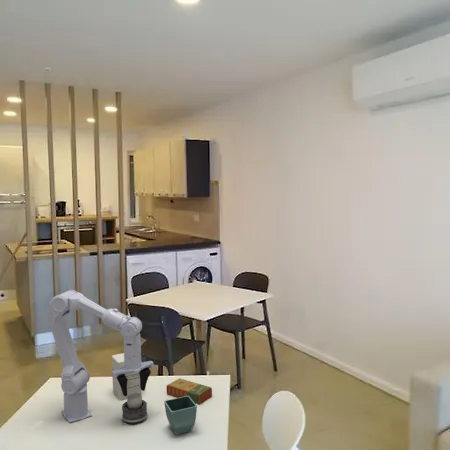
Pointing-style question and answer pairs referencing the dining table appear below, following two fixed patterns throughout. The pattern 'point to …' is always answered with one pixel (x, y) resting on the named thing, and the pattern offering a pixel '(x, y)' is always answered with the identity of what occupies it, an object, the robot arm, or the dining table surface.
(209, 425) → the dining table surface
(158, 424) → the dining table surface
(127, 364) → the robot arm
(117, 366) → the supplement box
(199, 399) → the carton
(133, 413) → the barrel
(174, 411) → the flower pot
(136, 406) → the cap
